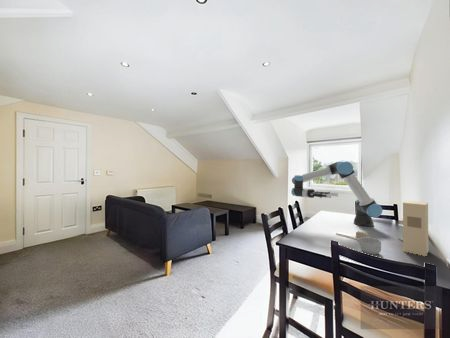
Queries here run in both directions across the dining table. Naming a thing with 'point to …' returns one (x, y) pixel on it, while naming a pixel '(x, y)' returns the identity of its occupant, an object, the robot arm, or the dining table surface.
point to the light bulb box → (400, 231)
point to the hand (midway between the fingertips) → (334, 195)
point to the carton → (415, 227)
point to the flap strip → (358, 235)
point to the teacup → (370, 245)
